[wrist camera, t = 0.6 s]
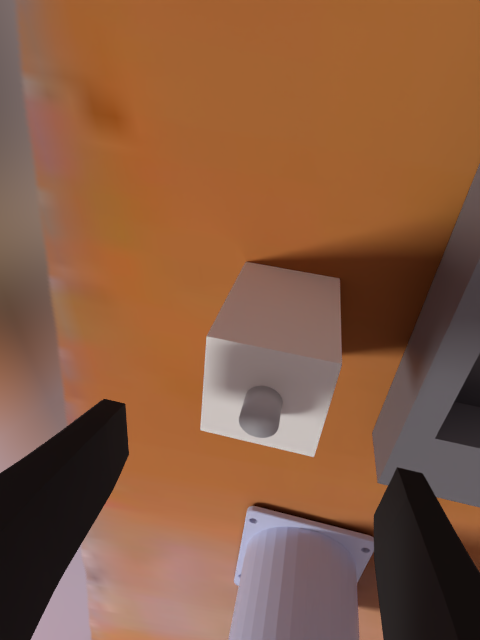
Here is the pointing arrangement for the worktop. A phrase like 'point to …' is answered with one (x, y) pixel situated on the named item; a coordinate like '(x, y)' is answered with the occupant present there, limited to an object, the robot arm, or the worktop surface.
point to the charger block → (273, 358)
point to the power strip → (441, 376)
